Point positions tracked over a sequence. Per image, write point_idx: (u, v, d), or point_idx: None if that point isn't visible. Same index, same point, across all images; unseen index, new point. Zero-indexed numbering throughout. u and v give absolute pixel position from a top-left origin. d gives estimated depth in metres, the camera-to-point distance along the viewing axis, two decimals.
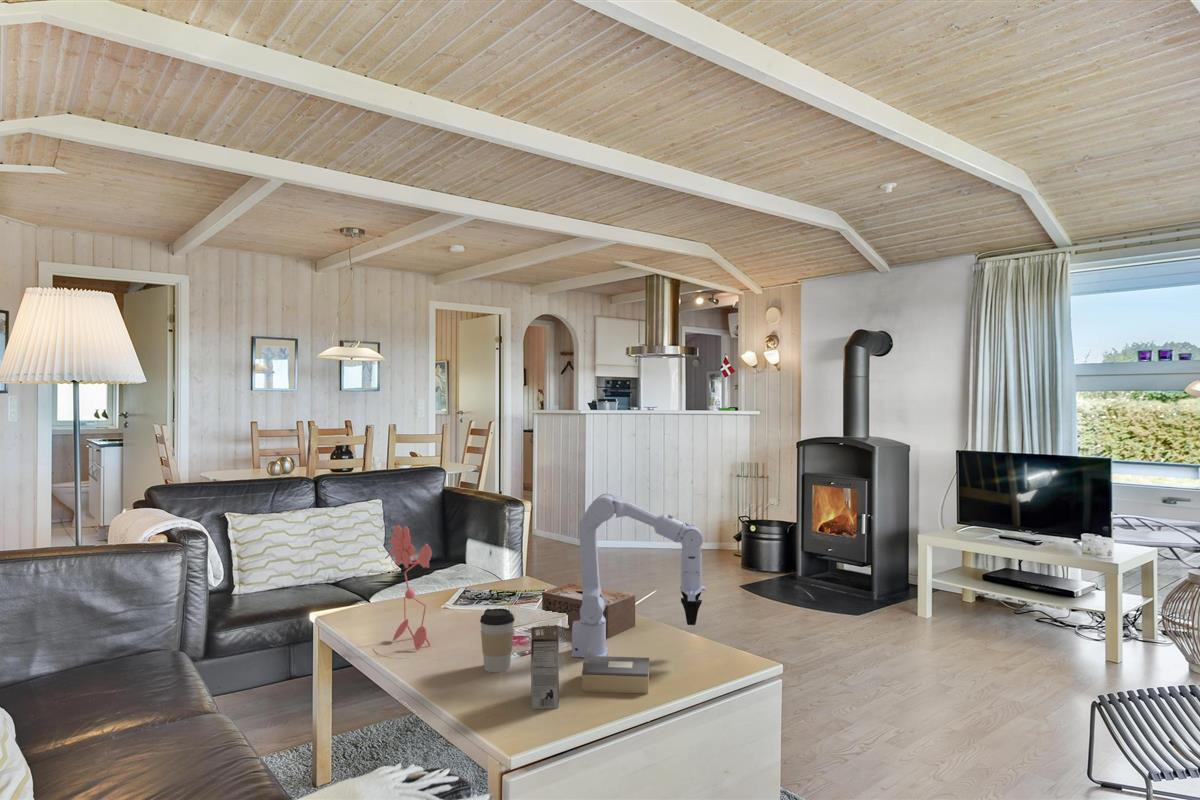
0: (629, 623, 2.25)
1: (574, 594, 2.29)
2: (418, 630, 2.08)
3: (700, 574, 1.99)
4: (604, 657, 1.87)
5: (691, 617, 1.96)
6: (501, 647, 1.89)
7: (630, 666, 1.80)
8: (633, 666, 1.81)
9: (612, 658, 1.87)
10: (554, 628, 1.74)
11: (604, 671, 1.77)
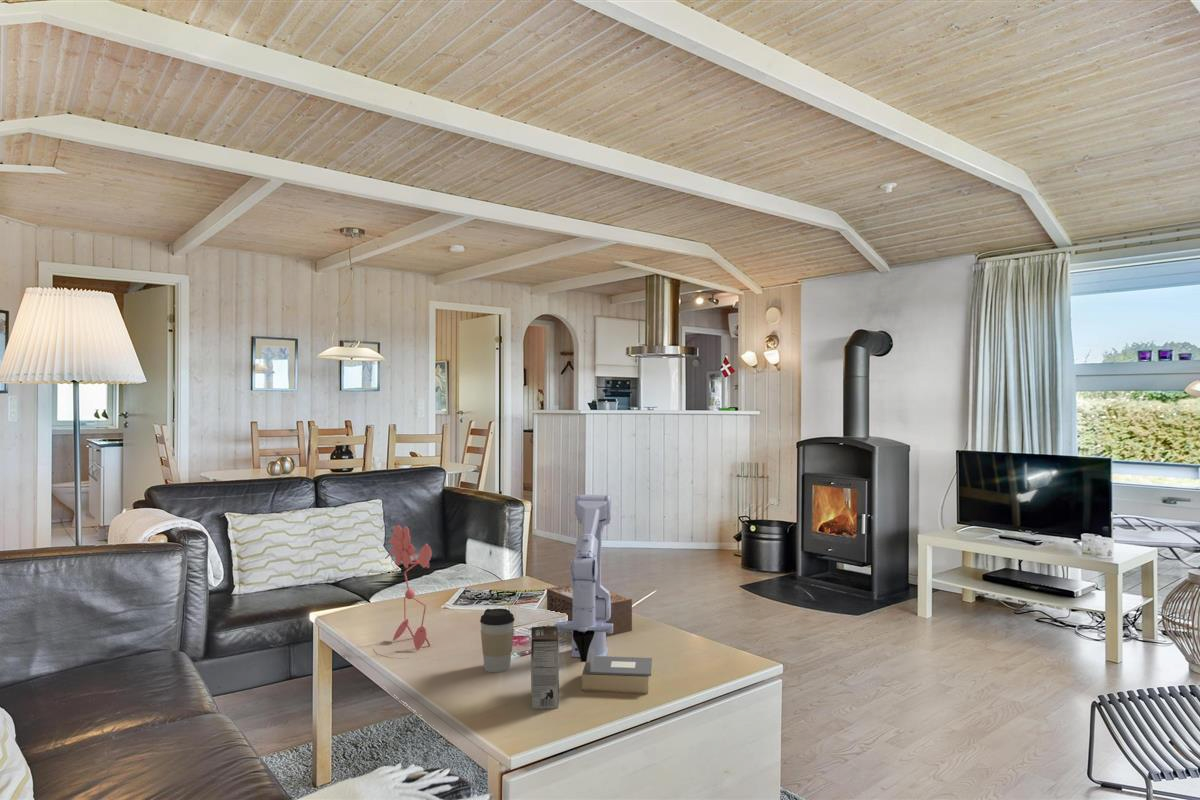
0: (623, 627, 2.22)
1: None
2: (418, 630, 2.08)
3: (577, 611, 1.80)
4: (607, 657, 1.87)
5: None
6: (501, 647, 1.89)
7: (633, 666, 1.80)
8: (636, 666, 1.81)
9: (615, 658, 1.87)
10: (554, 628, 1.74)
11: (607, 671, 1.77)
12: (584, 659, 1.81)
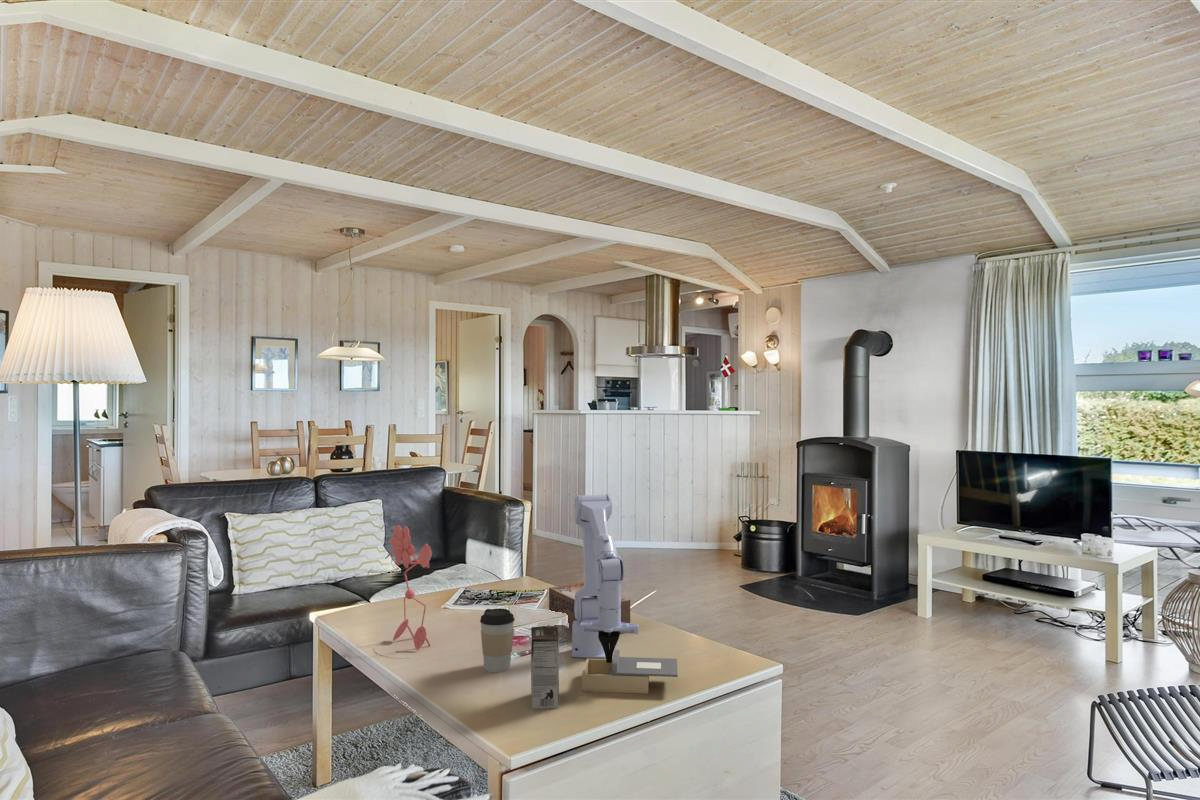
0: None
1: (574, 593, 2.31)
2: (418, 630, 2.08)
3: (603, 611, 1.80)
4: (632, 658, 1.86)
5: None
6: (501, 647, 1.89)
7: (659, 667, 1.80)
8: (662, 667, 1.80)
9: (640, 658, 1.86)
10: (554, 628, 1.74)
11: (633, 672, 1.77)
12: (610, 660, 1.81)
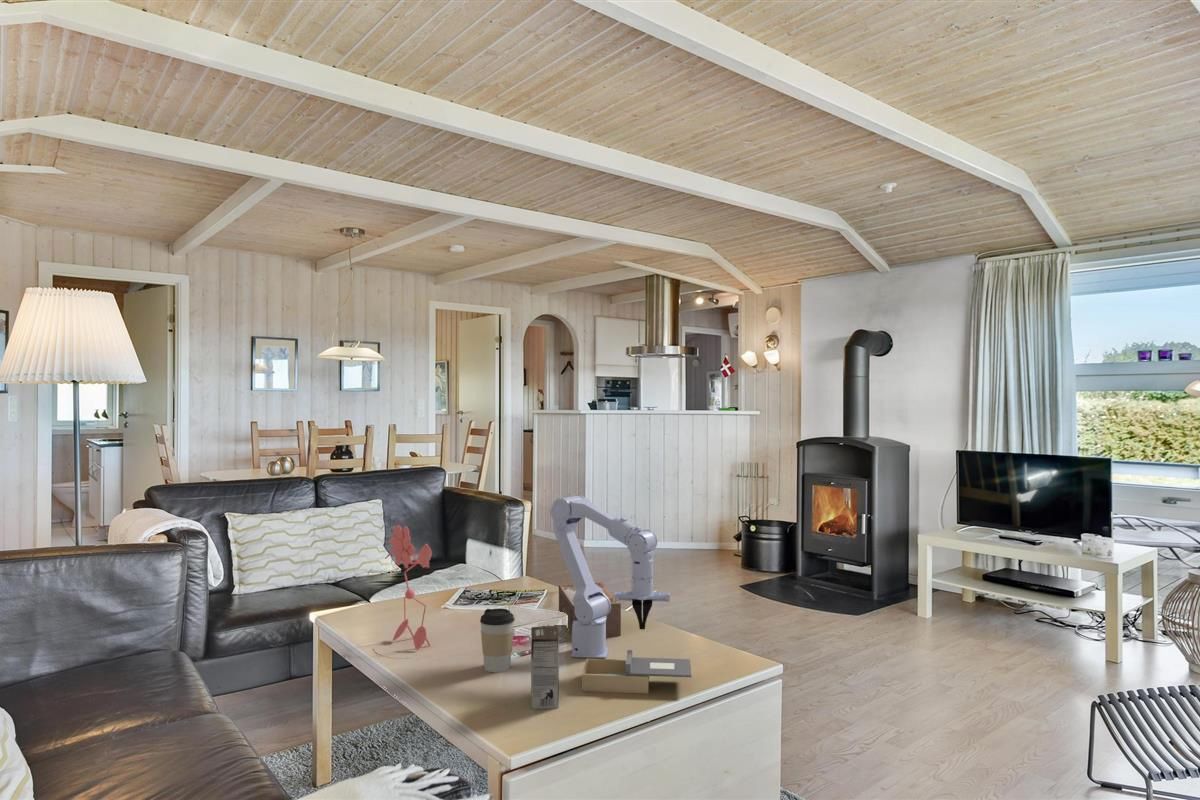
0: (609, 630, 2.18)
1: (575, 591, 2.32)
2: (418, 630, 2.08)
3: (637, 581, 1.92)
4: (644, 658, 1.86)
5: None
6: (502, 647, 1.89)
7: (672, 667, 1.80)
8: (675, 667, 1.80)
9: (653, 659, 1.86)
10: (554, 628, 1.74)
11: (647, 672, 1.76)
12: (643, 626, 1.93)
